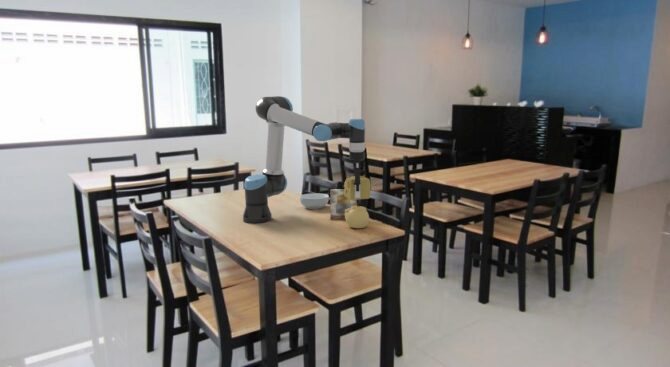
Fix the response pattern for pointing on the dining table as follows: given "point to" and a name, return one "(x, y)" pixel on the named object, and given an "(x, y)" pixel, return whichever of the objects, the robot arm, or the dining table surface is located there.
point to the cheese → (364, 188)
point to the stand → (339, 204)
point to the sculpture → (357, 217)
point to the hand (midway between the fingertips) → (357, 194)
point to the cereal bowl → (314, 200)
